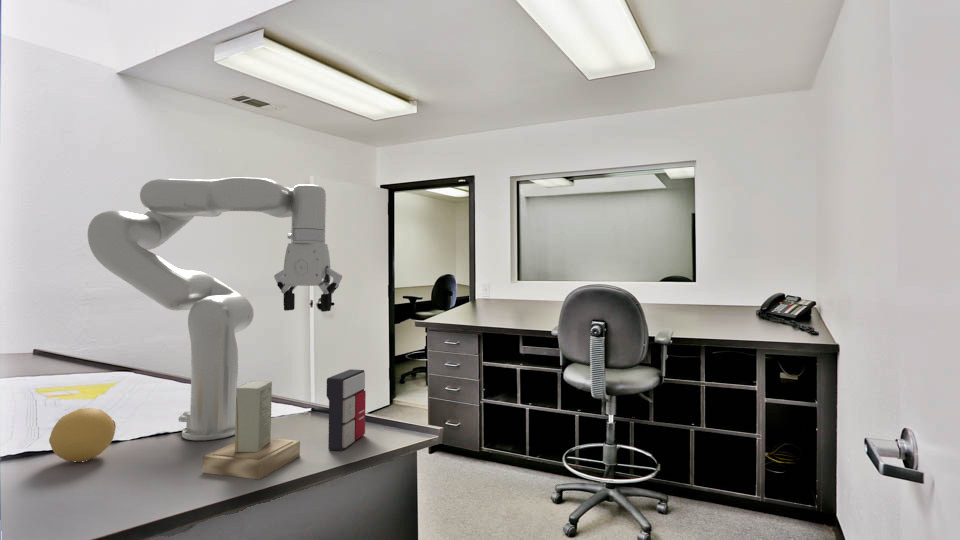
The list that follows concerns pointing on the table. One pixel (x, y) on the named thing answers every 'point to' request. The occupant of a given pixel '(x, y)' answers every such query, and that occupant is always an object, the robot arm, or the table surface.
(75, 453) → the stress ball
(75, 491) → the table surface
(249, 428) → the skincare box
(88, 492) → the table surface
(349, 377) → the grey red panelled box
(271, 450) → the oak plinth
